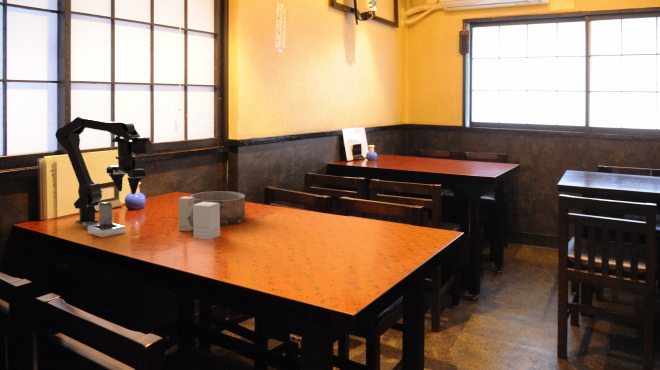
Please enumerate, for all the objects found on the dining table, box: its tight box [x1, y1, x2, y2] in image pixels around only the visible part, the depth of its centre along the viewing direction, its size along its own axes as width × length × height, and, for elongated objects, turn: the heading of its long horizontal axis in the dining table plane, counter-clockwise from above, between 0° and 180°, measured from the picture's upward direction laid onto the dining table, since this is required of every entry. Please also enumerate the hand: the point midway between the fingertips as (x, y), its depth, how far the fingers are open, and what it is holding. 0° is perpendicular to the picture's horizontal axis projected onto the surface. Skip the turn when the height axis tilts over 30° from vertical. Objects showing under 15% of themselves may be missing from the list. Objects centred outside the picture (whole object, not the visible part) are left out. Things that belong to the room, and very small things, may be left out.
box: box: [177, 195, 194, 232], centre depth 209 cm, size 5×4×13 cm
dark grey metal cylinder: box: [98, 201, 114, 229], centre depth 201 cm, size 5×5×12 cm
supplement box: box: [192, 202, 221, 241], centre depth 199 cm, size 7×7×13 cm
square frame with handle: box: [82, 221, 126, 238], centre depth 204 cm, size 20×9×2 cm, turn 54°
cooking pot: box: [190, 190, 246, 227], centre depth 226 cm, size 30×22×11 cm
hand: (126, 192), depth 213 cm, fingers open, 9 cm apart
